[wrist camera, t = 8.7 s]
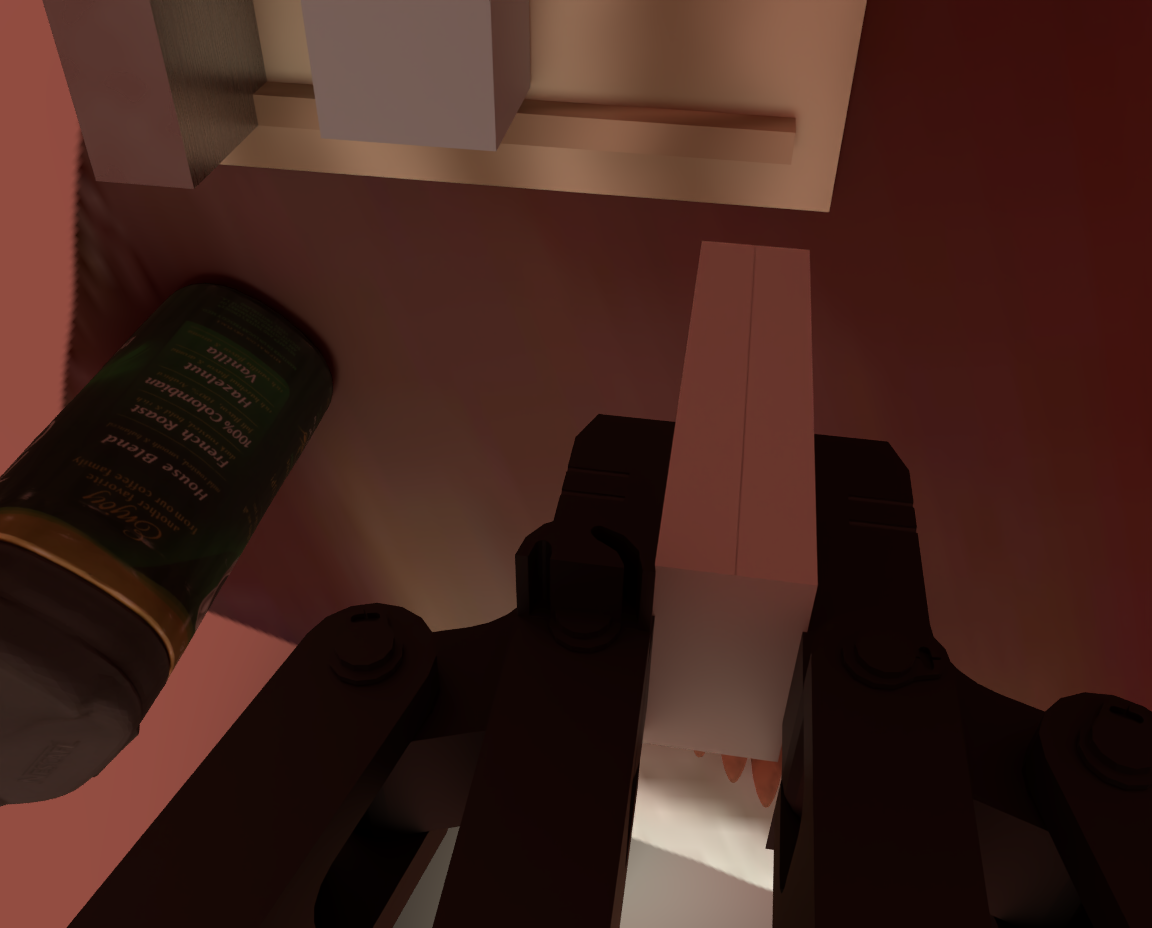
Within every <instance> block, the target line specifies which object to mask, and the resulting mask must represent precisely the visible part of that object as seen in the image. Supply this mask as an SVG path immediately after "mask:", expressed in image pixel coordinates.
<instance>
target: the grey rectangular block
mask: <svg viewBox="0 0 1152 928" xmlns="http://www.w3.org/2000/svg"><path fill="white" fill-rule="evenodd" d="M301 7H302V13H303V20H304V27H305V34H306V40H307V47H308V54H309V60H310V67H311V74H312V81H313V87H314V94H315V101H316V108H317V114H318V121H319V128H320V134H321V138H324V139H337V140H350V141H364V142H377V143H390V144H404V145H417V146H430V147H444V148H457V149H471V150H484V151H497V149H498V147H499V145H500V143H501V141H502V140H503V138H504V136H505V134H506V132H507V130H508V128H509V127H510V125H511V123H512V121H513V119H514V117H515V115H516V113H517V112H518V110H519V108H520V106H521V104H522V102H523V100H524V98H525V97H526V95H527V93H528V91H529V89H530V27H529V0H301Z"/></svg>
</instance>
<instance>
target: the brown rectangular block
mask: <svg viewBox="0 0 1152 928" xmlns="http://www.w3.org/2000/svg"><path fill="white" fill-rule="evenodd" d="M43 3H44V7H45V10H46V13H47V16H48V20H49V23H50V27H51V30H52V34H53V37H54V40H55V44H56V47H57V50H58V54H59V57H60V61H61V64H62V67H63V71H64V74H65V77H66V81H67V84H68V87H69V91H70V94H71V98H72V101H73V104H74V108H75V111H76V114H77V118H78V121H79V124H80V128H81V131H82V135H83V138H84V141H85V145H86V148H87V151H88V155H89V158H90V161H91V165H92V168H93V171H94V175H95V178H96V181H103V182H116V183H128V184H140V185H152V186H165V187H177V188H189V189H194V188H195V187H196V186H197V185H198V184H199V183H200V182H201V181H202V180H203V179H205V178H206V177H207V176H208V175H209V174H210V173H211V172H212V171H213V170H214V169H215V168H216V167H217V166H218V165H219V164H220V163H221V162H222V161H223V160H224V159H225V158H226V157H227V156H228V155H229V154H230V153H231V152H232V151H233V150H234V149H235V148H236V147H237V146H238V145H239V144H240V143H241V142H242V141H243V140H244V139H245V138H246V137H247V136H248V135H249V134H250V133H251V132H252V131H253V130H254V129H255V128H256V127H257V126H258V120H257V115H256V110H255V104H254V99H253V94H254V93H255V92H256V91H257V90H258V89H259V88H260V87H262V86H263V85H264V84H265V83H266V82H267V78H266V72H265V67H264V61H263V55H262V50H261V44H260V38H259V32H258V27H257V21H256V15H255V10H254V4H253V0H43Z"/></svg>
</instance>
